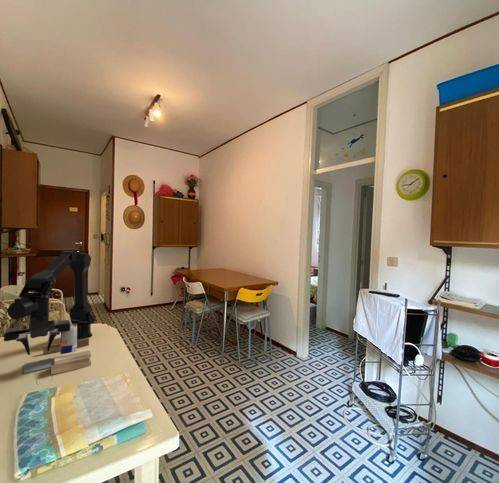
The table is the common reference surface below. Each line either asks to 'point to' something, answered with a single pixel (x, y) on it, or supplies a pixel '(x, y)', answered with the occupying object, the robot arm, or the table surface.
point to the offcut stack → (70, 361)
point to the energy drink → (69, 340)
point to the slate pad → (37, 365)
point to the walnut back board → (58, 346)
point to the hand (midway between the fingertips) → (38, 352)
